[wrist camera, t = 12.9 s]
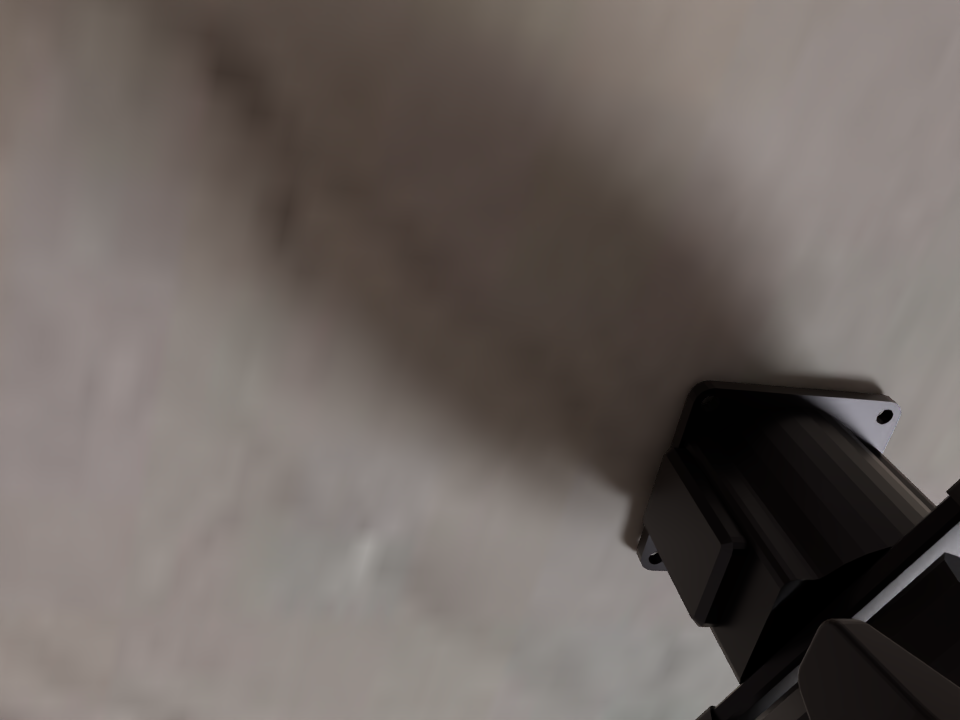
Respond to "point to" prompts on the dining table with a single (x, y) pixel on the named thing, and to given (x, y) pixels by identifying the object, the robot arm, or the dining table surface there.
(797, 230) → the dining table surface
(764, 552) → the robot arm
